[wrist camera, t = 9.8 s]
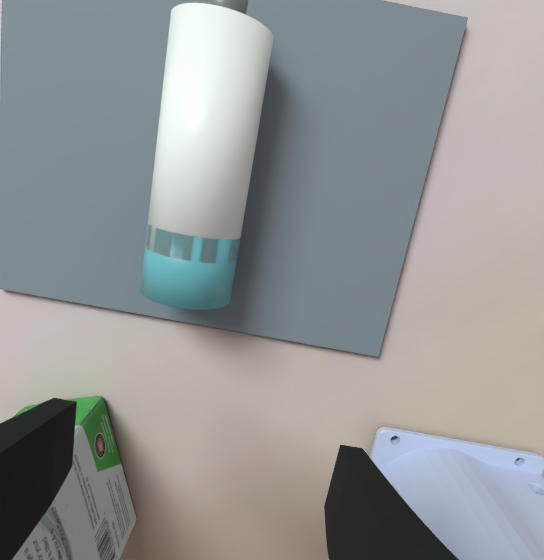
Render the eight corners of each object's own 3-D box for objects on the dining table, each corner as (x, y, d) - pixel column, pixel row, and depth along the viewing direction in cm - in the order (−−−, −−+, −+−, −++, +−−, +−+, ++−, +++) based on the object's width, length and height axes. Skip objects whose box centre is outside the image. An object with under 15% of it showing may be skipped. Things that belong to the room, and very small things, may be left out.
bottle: (278, 22, 17) (280, -26, 13) (234, 291, 20) (224, 316, 16) (187, 3, 17) (162, -51, 13) (155, 277, 20) (126, 299, 16)
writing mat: (463, 21, 17) (468, 17, 17) (376, 353, 21) (378, 356, 21) (10, -70, 17) (4, -76, 17) (0, 286, 20) (-5, 288, 20)
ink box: (21, 403, 22) (-262, 639, 11) (107, 393, 22) (-87, 623, 10) (60, 531, 24) (-143, 850, 12) (139, 523, 24) (7, 841, 12)
